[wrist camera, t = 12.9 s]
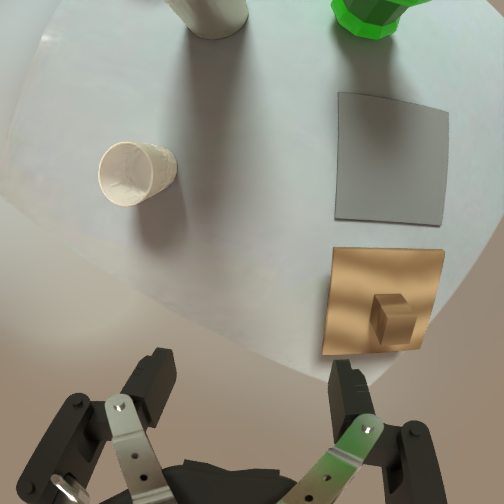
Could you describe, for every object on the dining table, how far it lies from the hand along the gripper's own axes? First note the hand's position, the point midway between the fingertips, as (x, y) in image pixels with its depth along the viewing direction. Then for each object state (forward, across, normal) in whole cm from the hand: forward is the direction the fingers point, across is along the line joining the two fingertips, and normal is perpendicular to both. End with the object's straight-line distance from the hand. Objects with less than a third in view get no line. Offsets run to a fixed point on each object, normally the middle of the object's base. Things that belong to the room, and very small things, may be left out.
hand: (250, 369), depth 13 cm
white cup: (+30, +17, -8) cm, 36 cm away
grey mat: (+30, -18, -10) cm, 36 cm away
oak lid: (+23, -16, +9) cm, 30 cm away
